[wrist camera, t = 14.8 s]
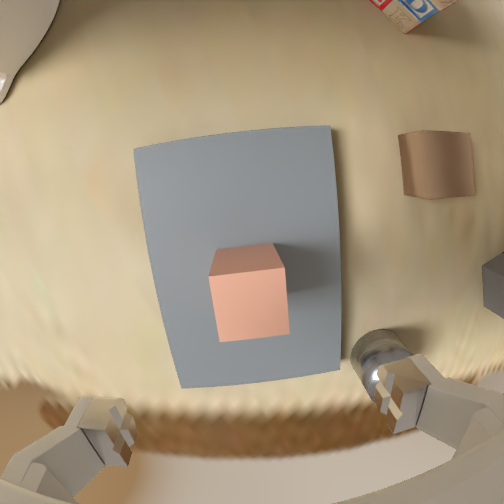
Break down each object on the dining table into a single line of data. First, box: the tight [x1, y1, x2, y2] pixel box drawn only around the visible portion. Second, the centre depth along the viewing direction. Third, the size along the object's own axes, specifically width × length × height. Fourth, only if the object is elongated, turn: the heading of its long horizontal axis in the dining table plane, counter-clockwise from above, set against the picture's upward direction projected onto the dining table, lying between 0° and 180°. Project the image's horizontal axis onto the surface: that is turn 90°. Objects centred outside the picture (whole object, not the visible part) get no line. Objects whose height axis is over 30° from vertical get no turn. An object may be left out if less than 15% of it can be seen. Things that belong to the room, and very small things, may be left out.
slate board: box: [134, 126, 341, 388], centre depth 23 cm, size 14×20×2 cm
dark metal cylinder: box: [351, 329, 413, 403], centre depth 24 cm, size 5×5×5 cm
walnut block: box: [398, 130, 475, 199], centre depth 21 cm, size 5×5×4 cm
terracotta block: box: [209, 243, 290, 342], centre depth 20 cm, size 4×4×6 cm
